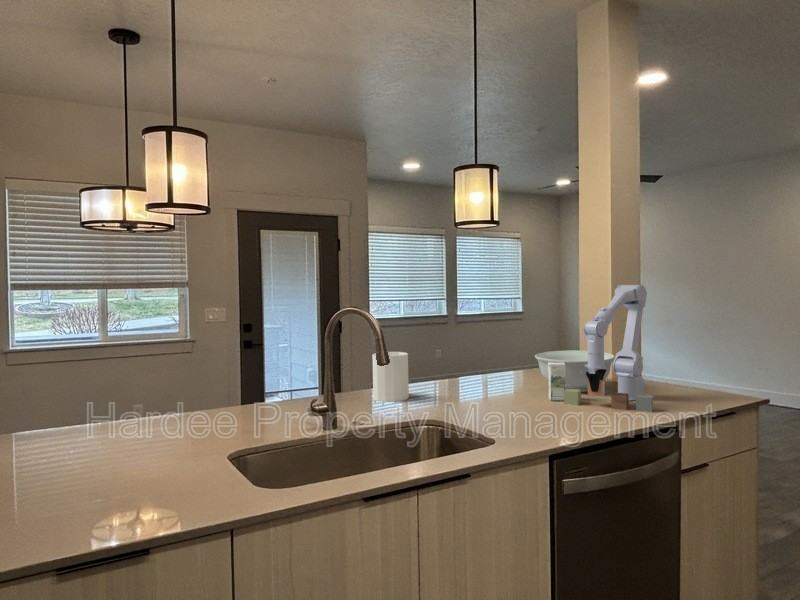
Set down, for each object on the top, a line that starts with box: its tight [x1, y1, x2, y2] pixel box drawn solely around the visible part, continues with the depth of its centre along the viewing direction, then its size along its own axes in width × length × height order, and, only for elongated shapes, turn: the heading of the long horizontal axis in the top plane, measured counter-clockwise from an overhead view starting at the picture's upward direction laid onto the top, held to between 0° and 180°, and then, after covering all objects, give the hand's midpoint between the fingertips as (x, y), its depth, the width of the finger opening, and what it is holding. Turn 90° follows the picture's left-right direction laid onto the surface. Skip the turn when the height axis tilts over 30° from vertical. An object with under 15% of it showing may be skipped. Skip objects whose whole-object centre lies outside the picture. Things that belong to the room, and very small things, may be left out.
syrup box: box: [547, 362, 566, 402], centre depth 217 cm, size 6×6×14 cm
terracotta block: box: [587, 379, 606, 397], centre depth 206 cm, size 5×5×5 cm
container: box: [371, 351, 410, 403], centre depth 228 cm, size 14×14×18 cm
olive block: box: [563, 389, 582, 406], centre depth 210 cm, size 5×5×5 cm
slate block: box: [635, 394, 654, 413], centre depth 198 cm, size 5×5×5 cm
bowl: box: [534, 349, 616, 393], centre depth 238 cm, size 32×32×15 cm
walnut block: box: [610, 391, 630, 411], centre depth 202 cm, size 5×5×5 cm
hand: (596, 390), depth 206 cm, fingers closed on terracotta block, 5 cm apart
